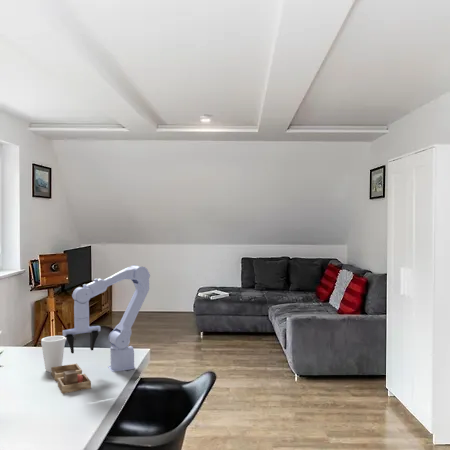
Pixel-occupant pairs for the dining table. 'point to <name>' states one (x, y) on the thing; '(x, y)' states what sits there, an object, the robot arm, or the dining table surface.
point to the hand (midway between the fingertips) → (82, 351)
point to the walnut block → (70, 377)
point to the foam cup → (53, 351)
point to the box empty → (59, 370)
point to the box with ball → (74, 385)
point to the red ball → (80, 378)
